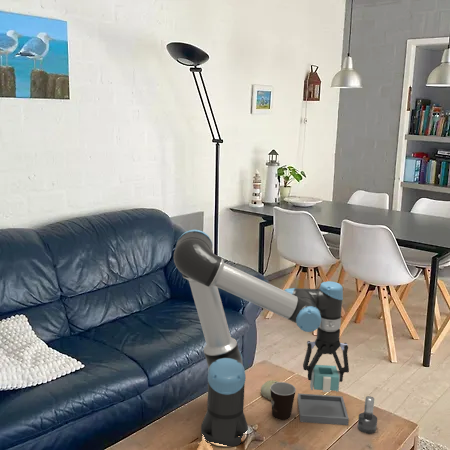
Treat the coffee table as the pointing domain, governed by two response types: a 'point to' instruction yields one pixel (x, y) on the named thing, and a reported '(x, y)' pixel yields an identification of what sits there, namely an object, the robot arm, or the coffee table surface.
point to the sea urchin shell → (267, 389)
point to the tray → (322, 409)
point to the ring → (325, 378)
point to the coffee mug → (282, 400)
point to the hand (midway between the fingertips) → (324, 388)
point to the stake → (367, 417)
